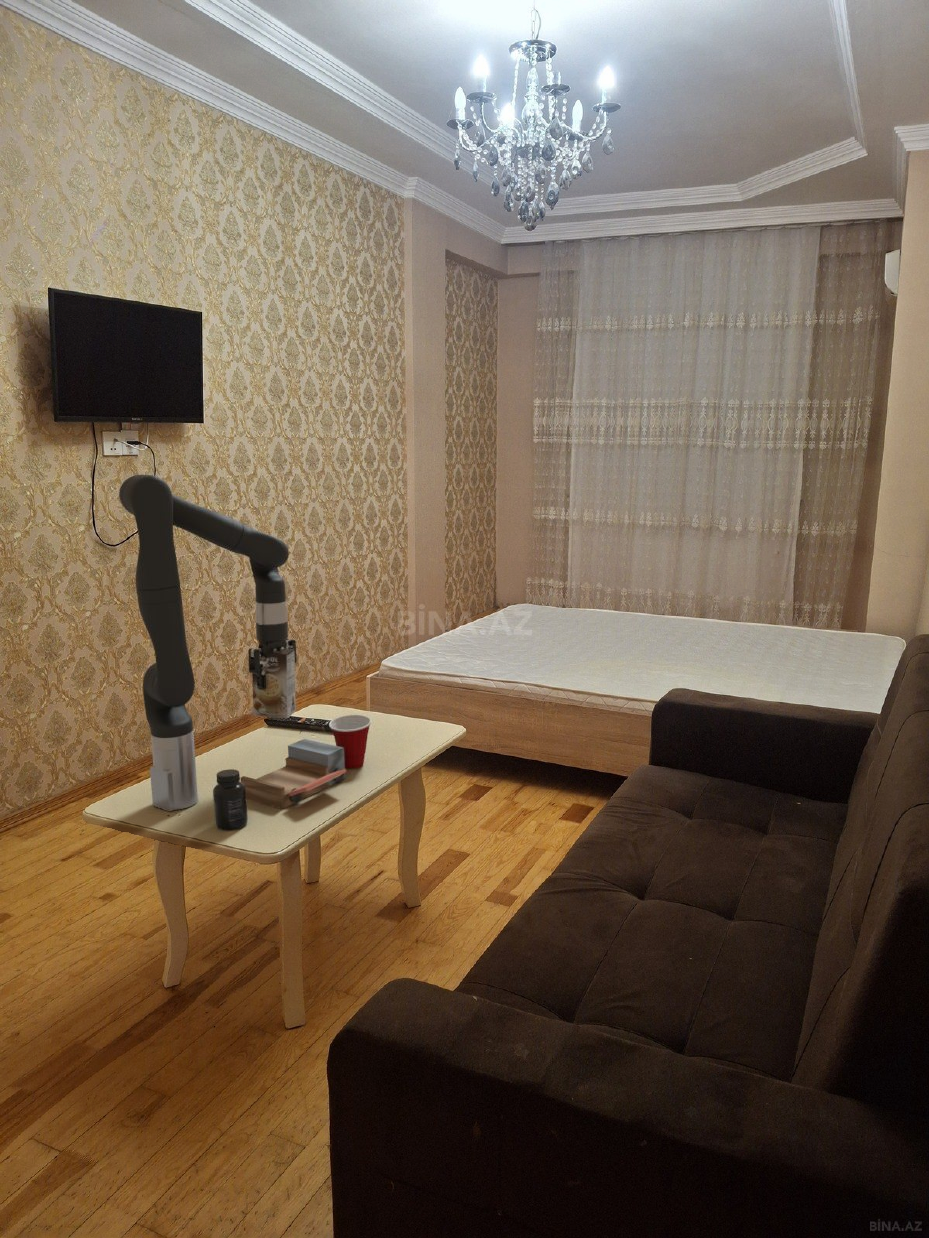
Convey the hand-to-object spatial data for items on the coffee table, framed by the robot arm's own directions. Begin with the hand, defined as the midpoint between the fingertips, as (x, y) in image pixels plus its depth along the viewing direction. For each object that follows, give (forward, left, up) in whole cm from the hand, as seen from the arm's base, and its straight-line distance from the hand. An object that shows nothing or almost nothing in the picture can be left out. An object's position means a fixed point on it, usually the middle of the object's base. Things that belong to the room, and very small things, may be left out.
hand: (274, 685), depth 218 cm
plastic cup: (+16, -10, -24) cm, 30 cm away
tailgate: (-6, -16, -21) cm, 27 cm away
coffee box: (0, 0, -7) cm, 7 cm away
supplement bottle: (-26, -11, -24) cm, 37 cm away
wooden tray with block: (-3, -9, -24) cm, 25 cm away
